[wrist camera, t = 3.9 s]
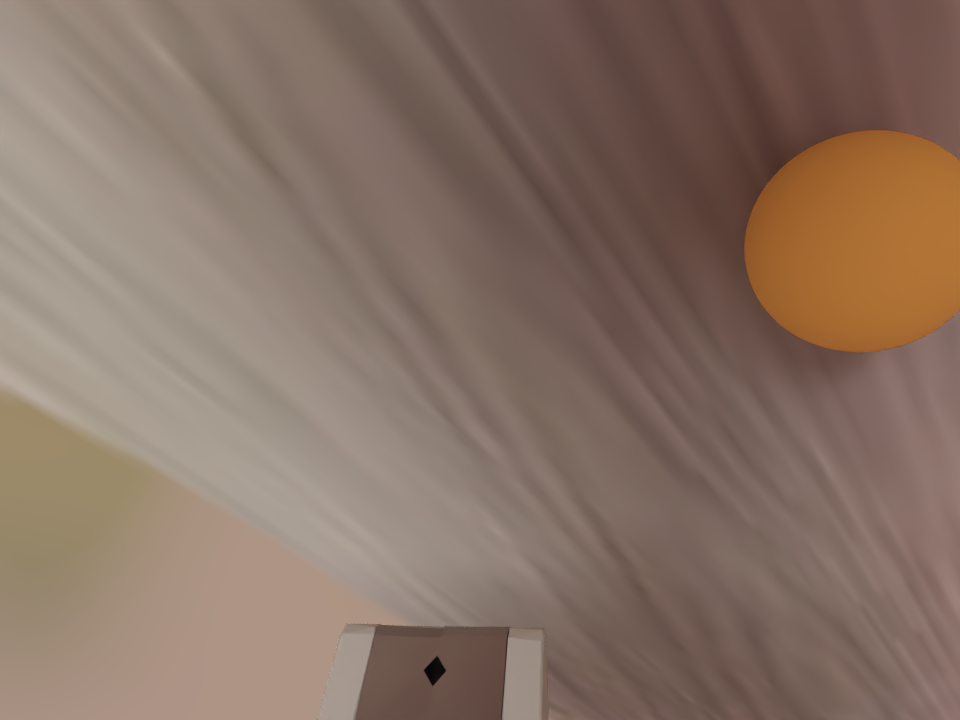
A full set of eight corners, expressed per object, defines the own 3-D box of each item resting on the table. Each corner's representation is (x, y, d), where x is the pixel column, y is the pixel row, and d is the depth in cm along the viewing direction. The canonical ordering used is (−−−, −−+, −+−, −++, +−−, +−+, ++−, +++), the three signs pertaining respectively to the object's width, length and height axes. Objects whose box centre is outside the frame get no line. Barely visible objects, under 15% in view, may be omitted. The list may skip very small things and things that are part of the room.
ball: (716, 283, 23) (756, 399, 18) (738, 105, 19) (793, 196, 15) (904, 276, 22) (991, 394, 18) (961, 91, 19) (1085, 181, 14)
